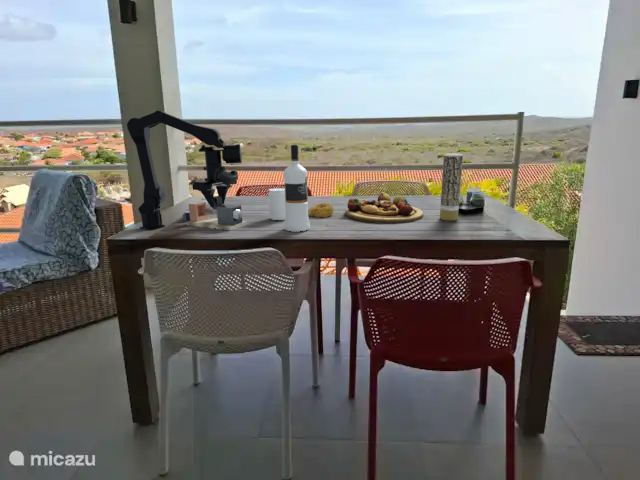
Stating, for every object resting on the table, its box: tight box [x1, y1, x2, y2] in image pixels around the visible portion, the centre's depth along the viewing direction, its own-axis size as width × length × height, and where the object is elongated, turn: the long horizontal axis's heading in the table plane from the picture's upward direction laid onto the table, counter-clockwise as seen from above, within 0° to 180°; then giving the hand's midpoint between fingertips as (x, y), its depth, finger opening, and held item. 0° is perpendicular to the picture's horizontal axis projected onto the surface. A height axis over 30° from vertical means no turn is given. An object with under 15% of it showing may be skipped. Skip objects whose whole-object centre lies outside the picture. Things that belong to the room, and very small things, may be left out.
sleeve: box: [216, 203, 243, 226], centre depth 153 cm, size 7×6×7 cm
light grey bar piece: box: [182, 196, 210, 222], centre depth 175 cm, size 5×7×25 cm
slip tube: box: [204, 195, 243, 219], centre depth 153 cm, size 15×4×8 cm, turn 64°
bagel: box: [308, 202, 335, 218], centre depth 170 cm, size 10×11×5 cm
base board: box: [186, 216, 248, 231], centre depth 157 cm, size 21×10×1 cm, turn 64°
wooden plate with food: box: [344, 191, 424, 224], centre depth 169 cm, size 32×32×8 cm
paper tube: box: [439, 153, 464, 222], centre depth 156 cm, size 7×7×25 cm
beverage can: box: [267, 187, 285, 221], centre depth 163 cm, size 8×8×12 cm
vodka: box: [283, 144, 311, 233], centre depth 144 cm, size 9×9×30 cm
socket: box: [188, 200, 209, 222], centre depth 159 cm, size 4×6×7 cm, turn 154°
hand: (217, 205), depth 154 cm, fingers open, 6 cm apart
